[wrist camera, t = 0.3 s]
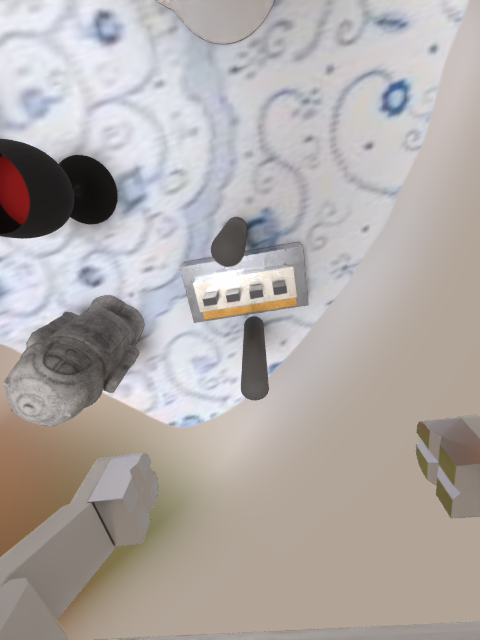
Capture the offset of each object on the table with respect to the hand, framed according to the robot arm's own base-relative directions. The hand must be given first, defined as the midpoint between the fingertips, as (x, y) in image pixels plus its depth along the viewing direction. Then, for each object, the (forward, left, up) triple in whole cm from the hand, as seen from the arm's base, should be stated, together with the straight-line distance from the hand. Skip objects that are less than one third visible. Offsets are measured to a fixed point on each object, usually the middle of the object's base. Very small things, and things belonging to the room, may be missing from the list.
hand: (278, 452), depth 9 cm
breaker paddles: (+7, -3, -40) cm, 40 cm away
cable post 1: (-2, -3, -46) cm, 46 cm away
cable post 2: (+16, -3, -46) cm, 48 cm away
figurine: (+11, -29, -46) cm, 55 cm away
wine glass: (-12, -26, -46) cm, 54 cm away
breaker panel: (+7, -3, -46) cm, 46 cm away
